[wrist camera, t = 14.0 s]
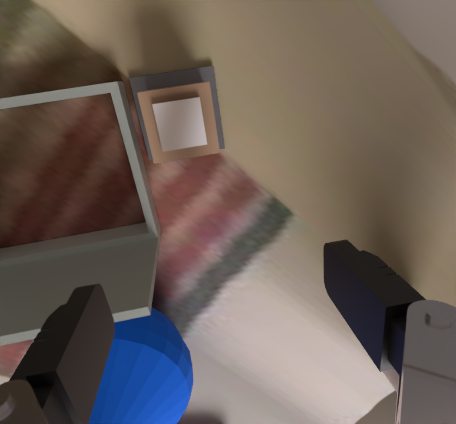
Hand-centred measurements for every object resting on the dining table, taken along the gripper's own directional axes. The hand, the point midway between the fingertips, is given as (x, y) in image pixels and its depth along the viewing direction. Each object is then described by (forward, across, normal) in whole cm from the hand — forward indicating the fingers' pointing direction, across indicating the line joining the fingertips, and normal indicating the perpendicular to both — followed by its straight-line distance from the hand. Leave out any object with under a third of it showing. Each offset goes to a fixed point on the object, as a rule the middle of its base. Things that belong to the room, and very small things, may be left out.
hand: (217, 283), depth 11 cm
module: (+23, +1, -4) cm, 23 cm away
